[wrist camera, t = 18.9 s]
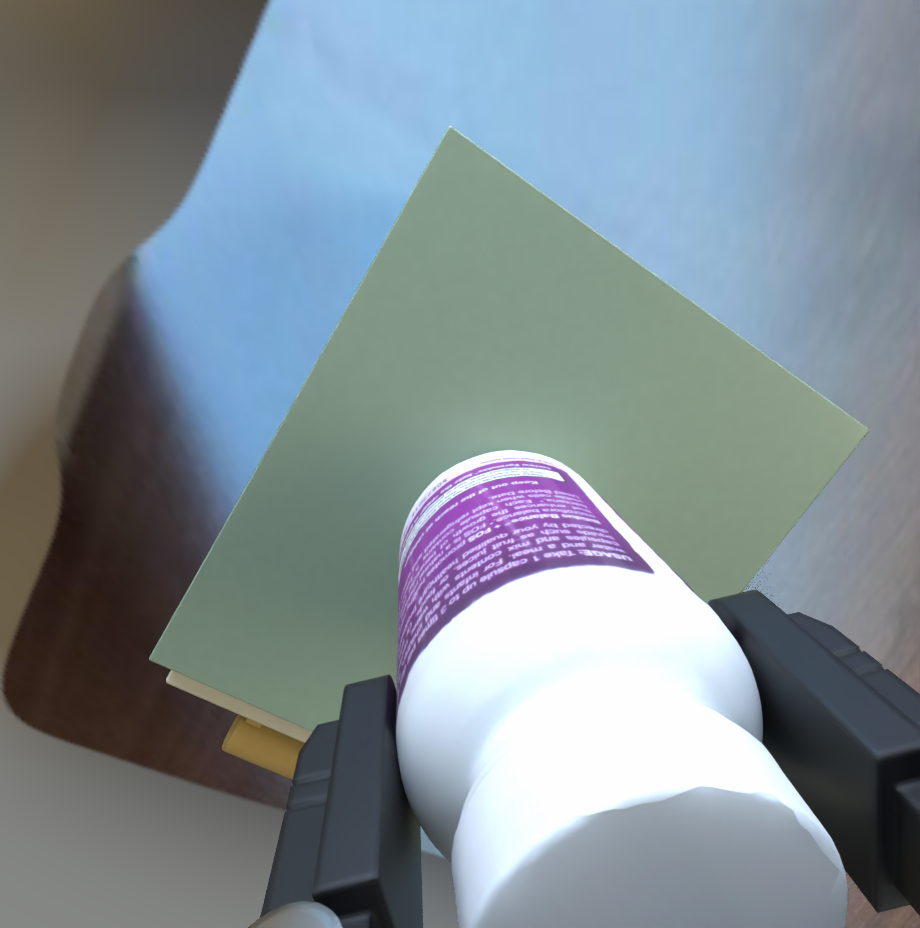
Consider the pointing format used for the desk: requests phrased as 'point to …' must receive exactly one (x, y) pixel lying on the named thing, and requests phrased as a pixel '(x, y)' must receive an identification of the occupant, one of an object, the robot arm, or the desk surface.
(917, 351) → the desk surface
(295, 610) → the cabinet
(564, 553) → the pill bottle
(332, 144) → the desk surface
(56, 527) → the desk surface
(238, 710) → the drawer
